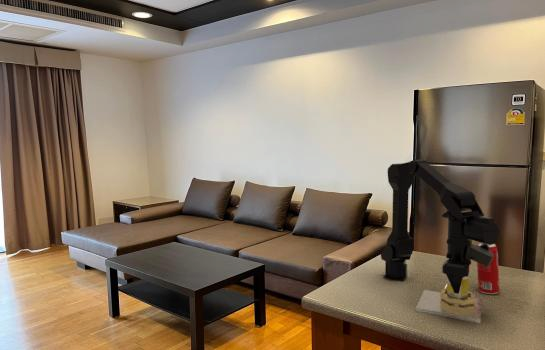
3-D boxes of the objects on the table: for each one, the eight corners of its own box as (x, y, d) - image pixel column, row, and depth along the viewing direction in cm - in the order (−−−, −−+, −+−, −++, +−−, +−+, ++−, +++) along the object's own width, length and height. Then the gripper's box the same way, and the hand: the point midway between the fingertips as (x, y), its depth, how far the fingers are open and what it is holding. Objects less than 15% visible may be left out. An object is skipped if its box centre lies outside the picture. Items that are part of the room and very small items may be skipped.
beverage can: (502, 295, 118) (503, 247, 116) (478, 294, 119) (479, 246, 118) (495, 288, 123) (497, 242, 122) (473, 286, 125) (474, 241, 124)
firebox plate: (415, 310, 109) (416, 296, 109) (424, 292, 121) (424, 279, 121) (480, 323, 101) (480, 307, 101) (482, 302, 113) (482, 288, 113)
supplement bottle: (466, 295, 112) (467, 262, 111) (469, 303, 107) (470, 268, 106) (445, 293, 114) (446, 260, 113) (447, 301, 108) (448, 266, 107)
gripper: (491, 248, 96) (489, 308, 98) (492, 231, 112) (490, 283, 114) (442, 242, 102) (441, 300, 103) (450, 227, 118) (449, 277, 119)
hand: (457, 289), depth 110 cm, fingers closed on supplement bottle, 5 cm apart
